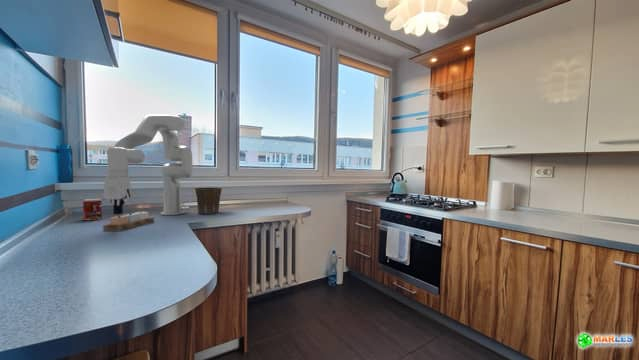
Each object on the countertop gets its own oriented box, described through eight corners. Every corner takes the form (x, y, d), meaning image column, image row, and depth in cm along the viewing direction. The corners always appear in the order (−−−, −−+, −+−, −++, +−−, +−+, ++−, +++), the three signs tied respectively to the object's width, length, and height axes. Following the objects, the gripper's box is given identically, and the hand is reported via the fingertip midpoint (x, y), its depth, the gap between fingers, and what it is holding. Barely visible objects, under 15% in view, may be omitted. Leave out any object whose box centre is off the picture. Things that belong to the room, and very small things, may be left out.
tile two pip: (130, 220, 129) (130, 213, 129) (138, 221, 128) (138, 213, 128) (122, 222, 124) (122, 214, 124) (130, 223, 124) (130, 214, 124)
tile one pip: (140, 218, 135) (140, 211, 135) (148, 218, 135) (148, 211, 135) (133, 220, 131) (132, 212, 130) (141, 220, 130) (141, 212, 130)
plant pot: (222, 210, 177) (222, 187, 176) (222, 214, 161) (222, 188, 161) (196, 211, 171) (196, 187, 170) (193, 215, 156) (193, 189, 155)
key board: (139, 221, 137) (139, 217, 137) (153, 222, 136) (153, 217, 136) (103, 230, 117) (103, 225, 117) (120, 231, 116) (120, 225, 116)
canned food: (85, 221, 136) (85, 200, 136) (81, 219, 141) (81, 199, 140) (104, 219, 142) (103, 199, 142) (99, 217, 147) (99, 198, 147)
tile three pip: (118, 223, 122) (118, 215, 122) (127, 223, 122) (127, 215, 122) (110, 225, 118) (109, 217, 118) (119, 225, 117) (119, 217, 117)
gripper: (95, 174, 116) (95, 214, 116) (125, 174, 114) (125, 215, 115) (110, 174, 123) (110, 212, 124) (139, 174, 122) (139, 213, 122)
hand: (118, 213), depth 119 cm, fingers closed
